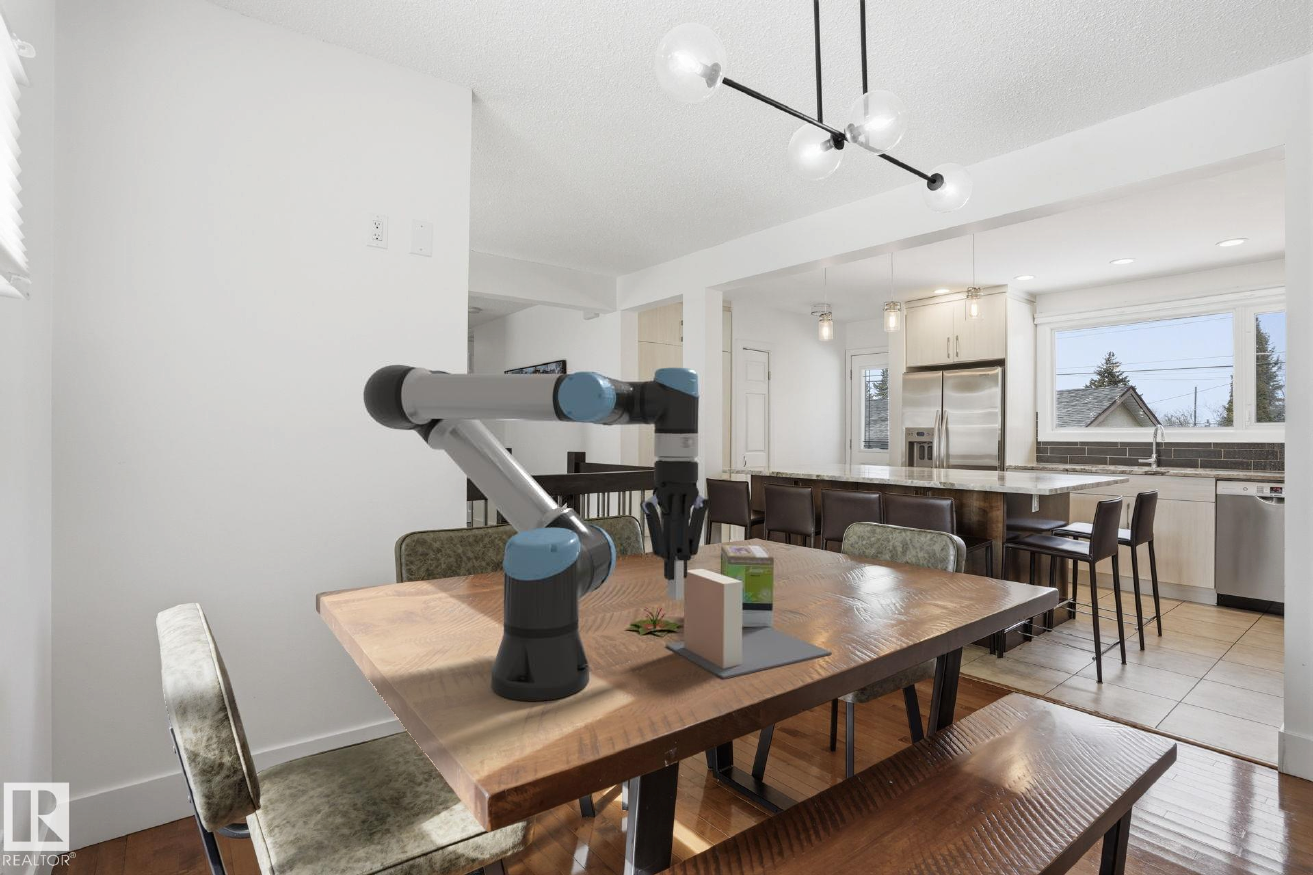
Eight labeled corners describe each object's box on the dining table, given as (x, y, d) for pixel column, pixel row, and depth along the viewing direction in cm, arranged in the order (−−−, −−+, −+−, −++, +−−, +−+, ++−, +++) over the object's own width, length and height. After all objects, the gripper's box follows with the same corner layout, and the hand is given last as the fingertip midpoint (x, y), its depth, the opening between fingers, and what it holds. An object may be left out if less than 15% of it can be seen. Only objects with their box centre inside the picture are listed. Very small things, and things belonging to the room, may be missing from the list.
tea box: (774, 628, 127) (775, 556, 127) (725, 627, 127) (726, 555, 128) (763, 608, 142) (763, 543, 142) (719, 607, 142) (719, 543, 143)
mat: (723, 678, 100) (723, 676, 100) (665, 646, 115) (665, 644, 115) (831, 654, 112) (831, 651, 112) (766, 627, 127) (766, 625, 127)
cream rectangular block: (722, 668, 103) (723, 584, 103) (683, 647, 114) (684, 570, 114) (741, 664, 105) (742, 581, 105) (701, 643, 116) (702, 568, 116)
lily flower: (694, 627, 129) (694, 605, 129) (666, 643, 118) (666, 619, 118) (644, 618, 135) (644, 597, 135) (613, 633, 124) (613, 610, 124)
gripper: (653, 460, 99) (653, 608, 99) (720, 459, 106) (719, 598, 106) (632, 459, 106) (631, 597, 106) (695, 458, 112) (695, 589, 112)
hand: (675, 597), depth 106 cm, fingers closed
